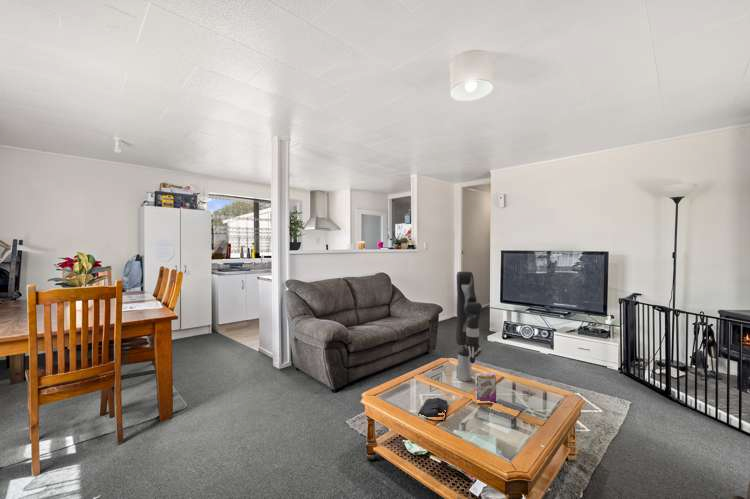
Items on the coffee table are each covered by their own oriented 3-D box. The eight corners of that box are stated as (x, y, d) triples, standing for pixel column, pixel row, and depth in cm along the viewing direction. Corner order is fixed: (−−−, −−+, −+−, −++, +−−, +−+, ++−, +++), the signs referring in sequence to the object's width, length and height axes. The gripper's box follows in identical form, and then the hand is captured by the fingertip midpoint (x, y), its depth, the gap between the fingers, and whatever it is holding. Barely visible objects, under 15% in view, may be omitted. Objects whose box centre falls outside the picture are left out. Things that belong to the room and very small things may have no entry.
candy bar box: (477, 403, 192) (476, 375, 192) (475, 399, 197) (474, 372, 197) (496, 404, 191) (496, 376, 191) (494, 400, 196) (493, 373, 196)
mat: (485, 410, 184) (485, 409, 184) (498, 399, 197) (498, 398, 197) (512, 420, 174) (512, 419, 174) (524, 408, 187) (524, 407, 187)
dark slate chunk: (451, 404, 191) (451, 397, 191) (443, 423, 171) (444, 415, 171) (425, 399, 197) (426, 392, 197) (415, 417, 177) (415, 409, 177)
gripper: (459, 334, 201) (459, 361, 201) (480, 338, 192) (479, 367, 192) (465, 331, 207) (465, 358, 207) (485, 335, 198) (485, 364, 198)
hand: (472, 362), depth 200 cm, fingers closed
